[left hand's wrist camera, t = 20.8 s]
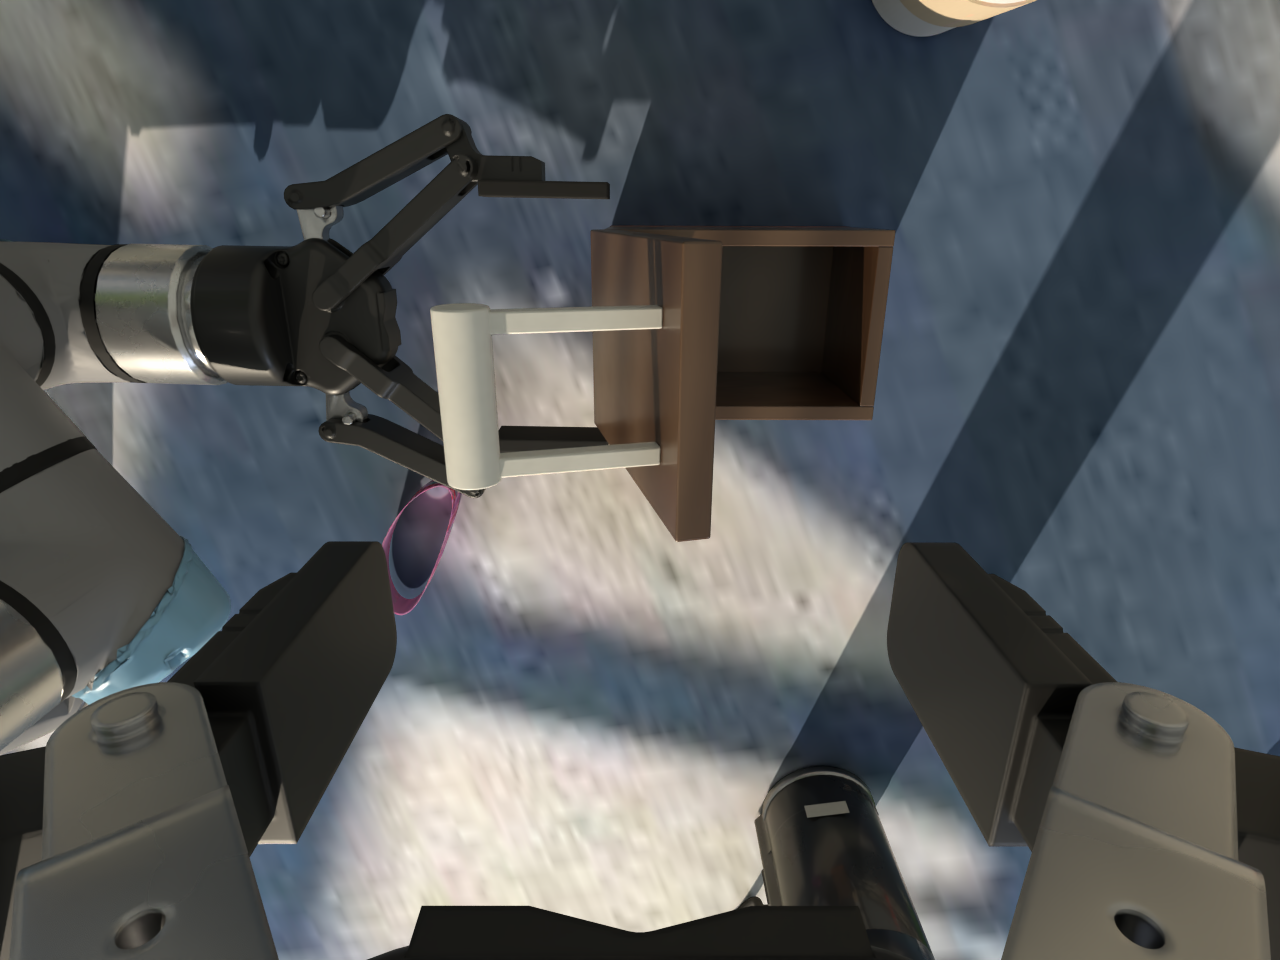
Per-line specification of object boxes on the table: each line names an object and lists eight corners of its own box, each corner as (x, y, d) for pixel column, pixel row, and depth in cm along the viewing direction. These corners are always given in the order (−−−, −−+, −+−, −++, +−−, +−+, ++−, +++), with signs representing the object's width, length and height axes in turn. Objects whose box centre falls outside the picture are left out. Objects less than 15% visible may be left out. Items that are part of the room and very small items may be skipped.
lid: (723, 241, 21) (420, 242, 19) (711, 539, 24) (453, 566, 22) (615, 229, 35) (432, 229, 33) (617, 422, 38) (451, 433, 36)
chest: (844, 226, 44) (896, 230, 35) (829, 381, 47) (872, 420, 38) (611, 225, 44) (603, 229, 35) (612, 380, 47) (606, 419, 38)
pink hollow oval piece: (415, 460, 49) (406, 471, 47) (469, 481, 50) (462, 493, 48) (372, 587, 53) (361, 603, 51) (423, 605, 53) (415, 621, 51)
